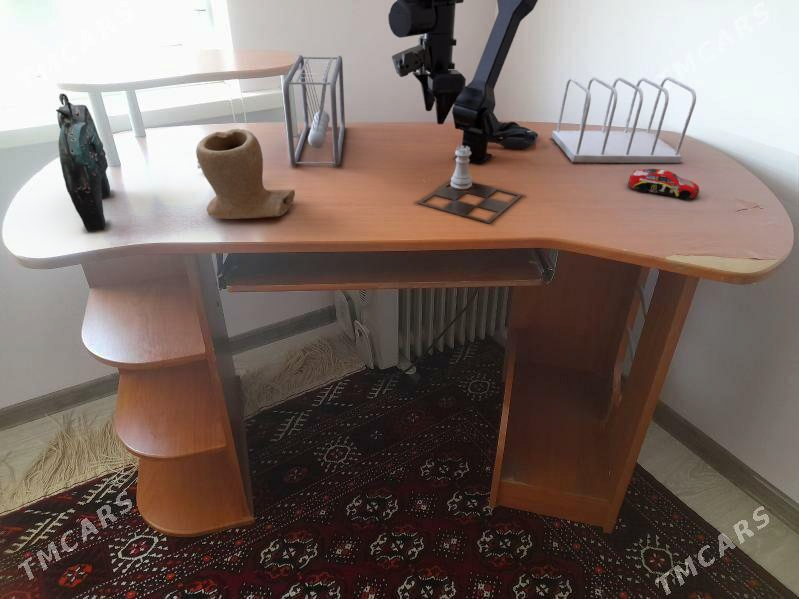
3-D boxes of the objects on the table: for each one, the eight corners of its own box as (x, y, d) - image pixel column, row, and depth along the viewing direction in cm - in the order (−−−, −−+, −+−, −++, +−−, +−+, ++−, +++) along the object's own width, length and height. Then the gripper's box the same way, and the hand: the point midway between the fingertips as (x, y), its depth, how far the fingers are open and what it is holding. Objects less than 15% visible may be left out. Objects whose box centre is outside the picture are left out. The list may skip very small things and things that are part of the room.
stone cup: (199, 229, 94) (180, 143, 85) (216, 200, 103) (201, 121, 95) (287, 229, 94) (277, 144, 86) (296, 201, 104) (288, 121, 95)
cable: (465, 148, 130) (467, 129, 128) (466, 130, 142) (468, 113, 139) (538, 152, 128) (541, 133, 126) (533, 133, 140) (536, 116, 137)
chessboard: (455, 179, 114) (455, 178, 114) (521, 195, 107) (522, 194, 107) (417, 203, 104) (417, 202, 104) (489, 224, 97) (489, 223, 97)
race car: (697, 193, 110) (704, 174, 108) (696, 203, 106) (703, 183, 104) (629, 180, 115) (634, 162, 112) (625, 189, 111) (630, 170, 108)
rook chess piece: (470, 191, 109) (473, 153, 104) (448, 189, 109) (450, 151, 105) (473, 182, 112) (475, 144, 107) (451, 180, 113) (453, 143, 108)
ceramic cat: (85, 190, 106) (49, 83, 95) (121, 186, 108) (90, 81, 97) (75, 236, 91) (31, 114, 80) (117, 230, 93) (80, 111, 82)
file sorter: (572, 163, 122) (586, 91, 114) (550, 138, 137) (562, 73, 128) (680, 163, 124) (703, 92, 115) (648, 138, 138) (666, 73, 129)
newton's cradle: (304, 126, 142) (298, 53, 132) (345, 127, 142) (342, 53, 132) (290, 169, 117) (281, 83, 107) (339, 169, 118) (335, 83, 108)
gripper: (386, 24, 107) (386, 106, 115) (406, 41, 92) (404, 133, 100) (441, 24, 109) (436, 104, 117) (469, 40, 94) (462, 130, 102)
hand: (434, 117), depth 109 cm, fingers open, 9 cm apart
